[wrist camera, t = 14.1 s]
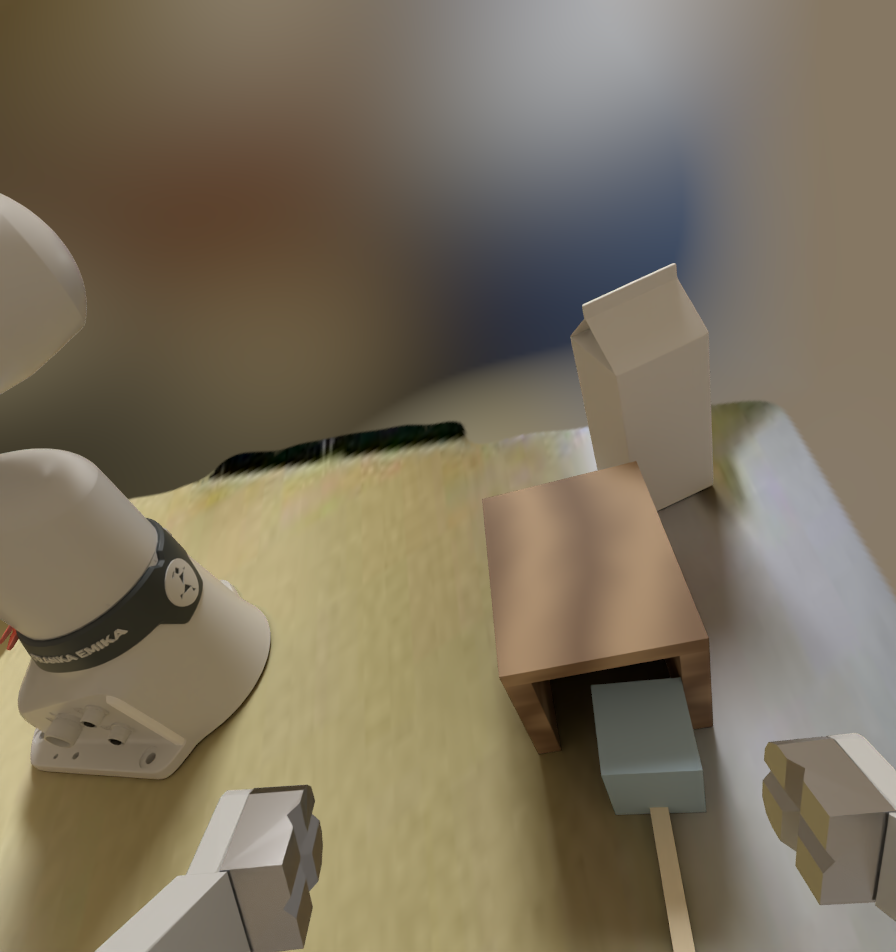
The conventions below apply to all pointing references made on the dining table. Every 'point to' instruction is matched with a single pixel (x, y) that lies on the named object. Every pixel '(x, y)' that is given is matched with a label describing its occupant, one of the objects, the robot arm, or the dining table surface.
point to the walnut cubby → (588, 593)
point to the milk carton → (648, 384)
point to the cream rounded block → (652, 772)
